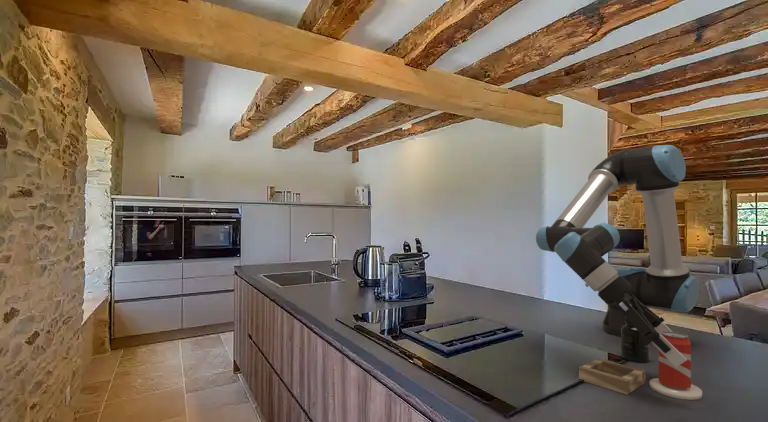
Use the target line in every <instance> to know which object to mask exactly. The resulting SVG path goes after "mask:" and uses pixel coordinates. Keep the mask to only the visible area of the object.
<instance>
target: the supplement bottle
mask: <svg viewBox="0 0 768 422" xmlns="http://www.w3.org/2000/svg"><path fill="white" fill-rule="evenodd" d="M625 323H626V324H625V325H623V326H622V328H621V336H620V340H621V341H620V344H621V345H620V347H621V348H620V349H621V350H620V351H621V353H620V354H621V357H622V358H623V359H624V358H625V359H624V360H626V359H627V360H626V361H629V362H634V363H647V362H648V361H649V360H650V343H649V344H647V343H646V342H645V338H644V337H643V336H642V335H641V334H640V333H639V331H638V330H637V329H636V328H635V327H634V326H633V324H632V323H631V322H630V321H629V320H628V318H627V317H626V316H625Z"/></svg>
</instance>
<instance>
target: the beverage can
mask: <svg viewBox="0 0 768 422" xmlns="http://www.w3.org/2000/svg"><path fill="white" fill-rule="evenodd" d="M661 334H662V336H663V337H664V338H665V339H666V340H667V341H668V342H669V343H670V344H671V345H673V346H674V347H675V348H676V349H677V350H678V351H679V352H680V353H681V354H682V355H683V356H684V357H685V358H686V359H687V361H685V362H683V363H682V364H680V365H679V366H677V367H675V366H674V365H673V364H672V363H671V362H670V361H669V360H668V359H667V358H666V357H665V356H664V355H663V354H662V353H661V352H660V351H659V350H658V378H659V381H660V382H661V383H662V384H663V385H665V386H666V387H669V388H672V389H678V390H685V389H687V388H691V384H692V350H691V349H692V344H691V341H690V339H689V335H688V334H685V333H681V332H677V331H672V332H670V331H664V332H662V333H661Z"/></svg>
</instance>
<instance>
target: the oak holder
mask: <svg viewBox="0 0 768 422" xmlns="http://www.w3.org/2000/svg"><path fill="white" fill-rule="evenodd" d="M579 378H581V379H583V380H584V381H583V382H585V383H588V384H591V385H595V386H598V387H602V388H604V389H608V390H612V391H615V392H618V393H621V394H624V395H630V394H631V393H632V392H634V391H635V390H637V389H638V388H640V387H642V386H643V385H645V384H646V370H644V369H642V368H641V369H640V368H637V367H632V366H629V365H625V364H621V363H617V362H614V361H610V360H606V359H601V358H597V359H595V360H592V361H590V362H588V363H586V364H584V365H581V366H579V367H578V379H579Z"/></svg>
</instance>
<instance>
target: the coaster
mask: <svg viewBox="0 0 768 422" xmlns="http://www.w3.org/2000/svg"><path fill="white" fill-rule="evenodd" d="M649 388H650V389H652V391H654V392H656V393H657V394H661V395H663V396H666V397H669V398H674V399H678V400H685V401H686V400H687V401H696V400H701V399H702V398H703V390H702V389H701V388H699V387H698V386H697V385H694V384H692V383H691V388H687V389H685V390H678V389H672V388H669V387H666V386H665V385H663V384H662V383H661V382H660V381H659V377H656V378H651V379H649Z"/></svg>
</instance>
